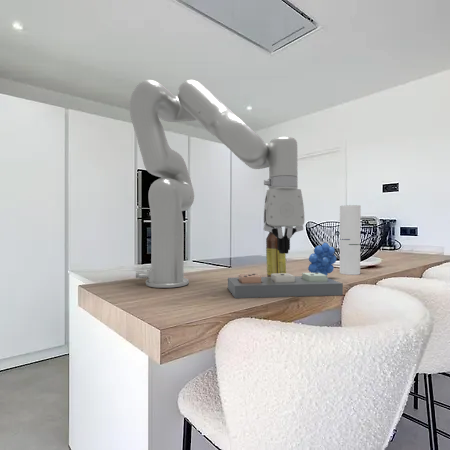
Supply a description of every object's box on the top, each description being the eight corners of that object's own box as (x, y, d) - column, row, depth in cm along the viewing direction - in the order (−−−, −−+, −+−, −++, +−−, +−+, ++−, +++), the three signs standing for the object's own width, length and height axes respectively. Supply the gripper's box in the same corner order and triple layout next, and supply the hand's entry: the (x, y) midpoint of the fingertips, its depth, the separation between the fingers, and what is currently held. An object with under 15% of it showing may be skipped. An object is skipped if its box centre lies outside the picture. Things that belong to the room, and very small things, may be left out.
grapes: (326, 276, 112) (326, 241, 112) (341, 279, 106) (341, 242, 106) (300, 278, 106) (300, 242, 106) (314, 281, 100) (314, 243, 100)
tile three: (242, 288, 82) (242, 276, 82) (238, 285, 87) (238, 273, 87) (261, 288, 82) (261, 276, 82) (256, 284, 87) (256, 273, 87)
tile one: (276, 288, 83) (276, 276, 83) (270, 284, 88) (270, 273, 88) (294, 287, 84) (294, 275, 83) (288, 284, 88) (288, 272, 88)
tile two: (309, 287, 84) (309, 275, 84) (302, 283, 89) (302, 272, 89) (327, 286, 85) (327, 275, 85) (319, 283, 90) (319, 272, 90)
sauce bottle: (285, 277, 108) (285, 219, 108) (286, 281, 102) (287, 218, 101) (265, 277, 108) (265, 218, 108) (266, 280, 102) (266, 218, 102)
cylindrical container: (342, 271, 123) (342, 206, 123) (362, 272, 119) (362, 206, 119) (337, 273, 117) (337, 205, 117) (357, 275, 113) (357, 205, 113)
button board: (234, 298, 78) (234, 285, 78) (227, 288, 90) (227, 277, 90) (342, 295, 82) (342, 283, 82) (322, 286, 94) (322, 275, 94)
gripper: (259, 182, 81) (259, 254, 81) (315, 183, 83) (315, 253, 83) (252, 186, 88) (253, 252, 88) (304, 186, 90) (304, 251, 90)
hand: (283, 252), depth 86 cm, fingers closed
